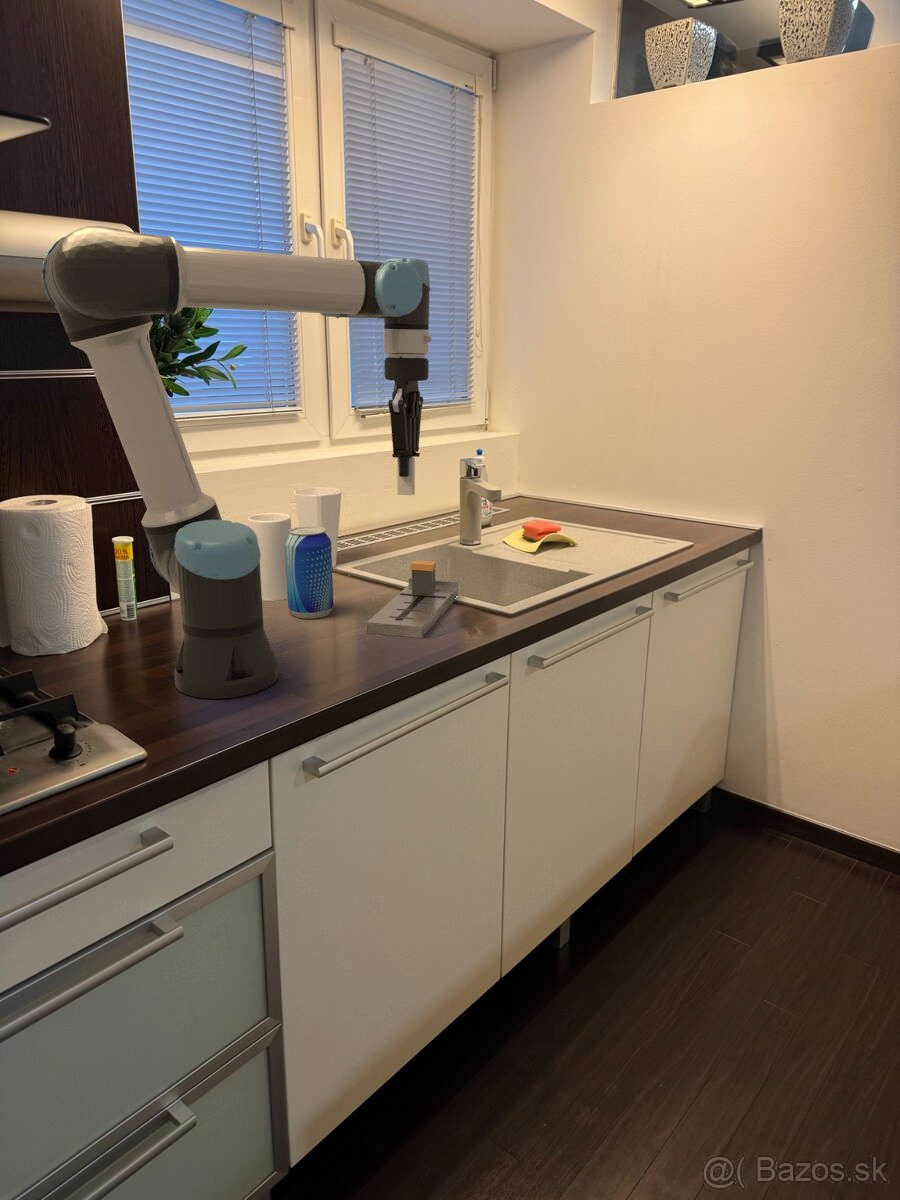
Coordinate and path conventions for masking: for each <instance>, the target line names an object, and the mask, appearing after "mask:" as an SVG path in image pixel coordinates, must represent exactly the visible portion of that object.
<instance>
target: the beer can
mask: <svg viewBox="0 0 900 1200" xmlns="http://www.w3.org/2000/svg"><path fill="white" fill-rule="evenodd" d="M325 531H326V529H325V528H322V527H316V526H303V527H299V526H297V527H291V529H290V531H289V532H290V534H289V536H288V538H287V540H286V541H285V555H286V574H287V594H288V599H287V608H288V610H289V611H290V612H291V613H292V616H293V617H295V618H298V619H304V620H305V619H308V620H309V619H311V620H312V619H319V618H320V619H321V618H324V617H326V616H328V615H329V614H330V613H331V610H332V609H333V608H334V584H333V568H332V550H331V540H330V538H329V537H328V535H327V534H326V532H325Z"/></svg>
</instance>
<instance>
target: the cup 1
mask: <svg viewBox="0 0 900 1200" xmlns="http://www.w3.org/2000/svg"><path fill="white" fill-rule="evenodd" d="M291 520H292V519H291V515H290V514H287V513H280V512H263V513H256V514H255V513H254V514H251V515H249V516H248V517H247V524H248V525H247V526H248V527H249V528H251V529H252V530H253V531H254V532H255V534H256V536H257V539H258V546H259V549H260V554H261V557H260V575H261V593H262V602H263V601H265V602H273V601H274V602H277V601H278V602H279V601H284V600H288V594H287V574H286V555H285V541H286V540H287V538H288V536H289V534H290V532H289V531H290V529H292V521H291Z"/></svg>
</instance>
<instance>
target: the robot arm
mask: <svg viewBox="0 0 900 1200" xmlns="http://www.w3.org/2000/svg"><path fill="white" fill-rule="evenodd" d="M429 267H430V266H429V265H428V263H427V261H425V260H424V259H422V258H421V259H420V258H416V257H415V258H413V257H394V258H393V257H392V258H387V259H385V260H384V261H383V262H382V261H380V262H378V261H367V260H355V259H346V258H345V259H343V258H333V257H332V258H331V257H330V258H329V257H321V256H320V257H319V256H318V257H317V256H309V255H308V256H307V255H297V254H285V253H283V254H280V253H274V252H273V253H272V252H271V253H270V252H260V251H259V252H257V251H246V250H233V249H224V248H223V249H222V248H221V249H220V248H210V247H209V248H208V247H196V246H188V245H187V246H185V245H181V244H180V243H179V242H178V241H177V240H176V239H175V238H174V237H172V236H166V235H157V234H156V235H155V234H147V233H142V232H136V231H131V230H125V229H120V228H119V229H118V228H116V227H108V226H102V225H90V226H84V227H80V228H78V229H76V230H73V231H71V232H70V233H69V234H66V235H64V236H62V237H60V238H59V239H57V240H56V241H55V242H54V243H53V244H52V245H51V247H49V249H48V250H47V252H46V255H45V257H44V259H43V262H42V268H41V269H42V272H41V281H42V284H43V289H44V293H45V295H46V296H47V299H48V300H49V301H50V302H51V304H52V305H53V306H54V308H55V309H56V310H57V312H58V315H59V317H60V319H61V322H62V324H63V327H64V330H65V332H66V334H67V337H68V339H69V343H70V344H71V346H74V347H75V348H77V349H79V350H82V351H83V352H84V353H85V354H86V355H87V358H88V360H89V363H90V365H91V368H92V371H93V373H94V376H95V378H96V382H97V383H98V387H99V389H100V391H101V394H102V397H103V399H104V401H105V404H106V406H107V409H108V411H109V414H110V417H111V420H112V422H113V425H114V427H115V430H116V432H117V435H118V438H119V440H120V442H121V445H122V448H123V451H124V454H125V456H126V459H127V461H128V463H129V466H130V468H131V470H132V471H131V472H132V474H133V477H134V479H135V481H136V484H137V487H138V489H139V492H140V494H141V497H142V499H143V503H144V504H145V507H146V512H144V515H143V517H142V519H141V522H140V523H141V525H142V528H143V531H144V532H145V536H146V538H147V541H148V544H149V554H150V560H151V563H152V564H153V567H154V568H155V570H156V572H157V573H158V574H159V575H160V576H161V578H163V580H165V581H166V582H168V583H169V584H170V585H171V586H172V587H173V588H174V589H175V590H176V591H177V592H178V594H179V601H180V612H181V613H180V614H181V625H182V639H181V642H180V646H179V650H178V654H177V657H176V662H175V666H174V669H173V670H174V672H173V673H174V675H173V676H174V684H175V687H176V689H177V690H178V691H179V692H180V693H182V694H184V695H186V696H191V697H194V698H199V699H200V698H202V699H230V698H237V697H243V696H247V695H252V694H255V693H258V692H261V691H263V690H265V689H268V688H269V687H270V686H273V685H274V684H275V683H276V682H277V680H278V678H279V669H278V667H279V664H278V660H277V657H276V656H275V653H274V650H273V648H272V645H271V643H270V640H269V638H268V635H267V633H266V631H265V628H264V627H265V626H264V614H263V613H264V612H263V600H262V593H261V575H260V557H261V554H260V549H259V546H258V539H257V536H256V534H255V532H254V531H253V530H252V529H251V528H249V527H248V525H246V524H244V523H241V522H232V521H231V520H226V519H223V518H222V516H221V513H220V511H219V510H220V509H219V507H218V504H217V502H216V500H215V498H214V497H212V496H210V495H209V494H206V493H204V492H203V491H202V488H201V486H200V484H199V481H198V478H197V476H196V473H195V470H194V466H193V464H192V462H191V458H190V456H189V453H188V450H187V447H186V444H185V442H184V438H183V436H182V433H181V431H180V427H179V424H178V422H177V419H176V416H175V414H174V411H173V408H172V406H171V402H170V399H169V397H168V395H167V394H168V393H167V391H166V388H165V385H164V383H163V380H162V377H161V375H160V372H159V369H158V366H157V363H156V361H155V357H154V355H153V352H152V349H151V347H150V343H149V340H148V334H149V332H150V330H151V328H152V326H153V325H154V324H153V323H154V322H153V321H152V317H151V315H176V314H178V313H179V312H180V311H181V310H182V309H183V308H193V309H194V308H195V309H197V308H199V309H217V310H219V309H221V310H239V311H241V310H244V311H245V310H247V311H262V312H263V311H265V312H266V311H267V312H286V313H287V312H290V313H311V314H320V315H322V316H324V317H331V318H332V317H333V318H335V319H340V318H349V319H353V318H354V319H381V320H382V319H383V324H384V325H383V327H384V330H383V335H384V336H383V339H384V341H383V342H384V343H383V353H384V354H385V355H387V357H385V359H384V363H383V364H384V372H383V373H384V379H385V380H388V381H394V386H393V391H392V395H391V396H392V397H391V399H388V403H387V405H388V409H389V415H390V426H391V427H390V428H391V430H390V431H391V439H392V453H393V454H392V458H397V496H398V495H401V496H414V495H415V493H416V492H415V490H416V489H415V488H416V486H415V485H416V484H415V483H416V482H415V479H416V477H415V476H416V473H415V472H416V471H415V470H416V469H415V468H416V467H415V464H416V458H418V457H420V455H421V453H420V452H419V449H420V447H419V446H420V435H421V421H422V419H421V418H422V410H423V405H424V397H423V396H421V391H420V390H419V383H418V382H422V381H423V382H425V381H427V380H428V379H429V368H430V367H429V365H430V364H429V360H428V358H426V355H428V354H429V343H431V342H432V340H433V339H432V336H430V335H429V331H430V327H429V324H430V291H431V286H430V285H431V283H430V282H431V281H430V269H429Z"/></svg>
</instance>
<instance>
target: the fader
mask: <svg viewBox="0 0 900 1200" xmlns="http://www.w3.org/2000/svg"><path fill="white" fill-rule="evenodd" d="M410 566H411V567H410V568H411V578H412V595H422V596H433V595H434V594H435V579H436V568H437V562H436V561H430V560H429V561H428V560H414V561H412V562H411V563H410Z"/></svg>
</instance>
